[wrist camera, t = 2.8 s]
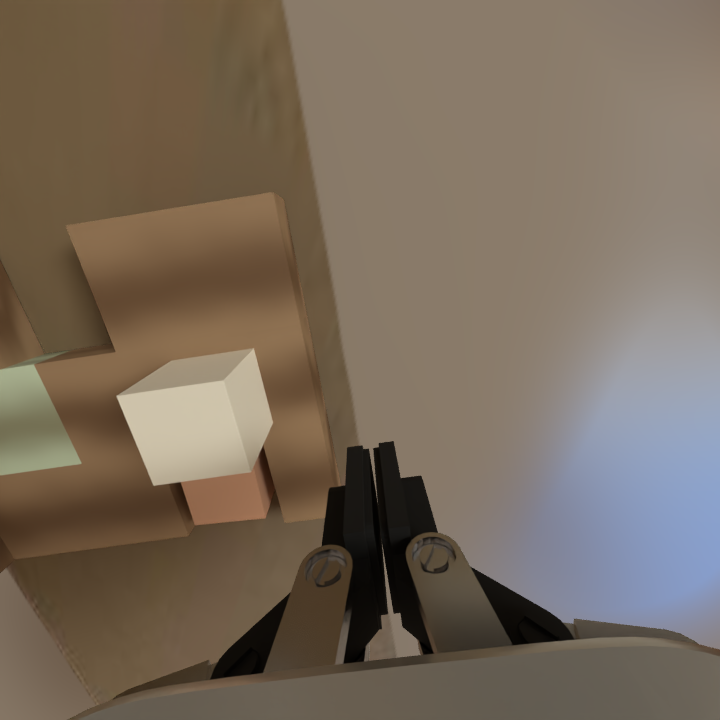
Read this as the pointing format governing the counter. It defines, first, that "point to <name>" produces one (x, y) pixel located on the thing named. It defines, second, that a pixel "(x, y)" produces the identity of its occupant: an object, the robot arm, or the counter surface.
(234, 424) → the cream cube
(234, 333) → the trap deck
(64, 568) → the counter surface
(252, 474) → the salmon block
